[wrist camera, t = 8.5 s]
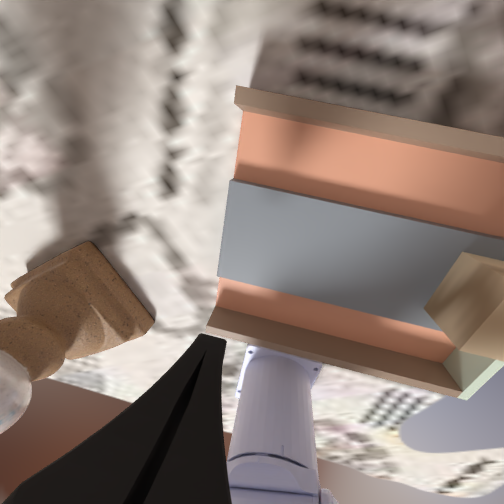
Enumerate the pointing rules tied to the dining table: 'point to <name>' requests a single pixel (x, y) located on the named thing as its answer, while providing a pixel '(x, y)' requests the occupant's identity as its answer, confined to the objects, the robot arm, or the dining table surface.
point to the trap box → (355, 237)
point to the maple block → (472, 305)
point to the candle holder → (62, 321)
